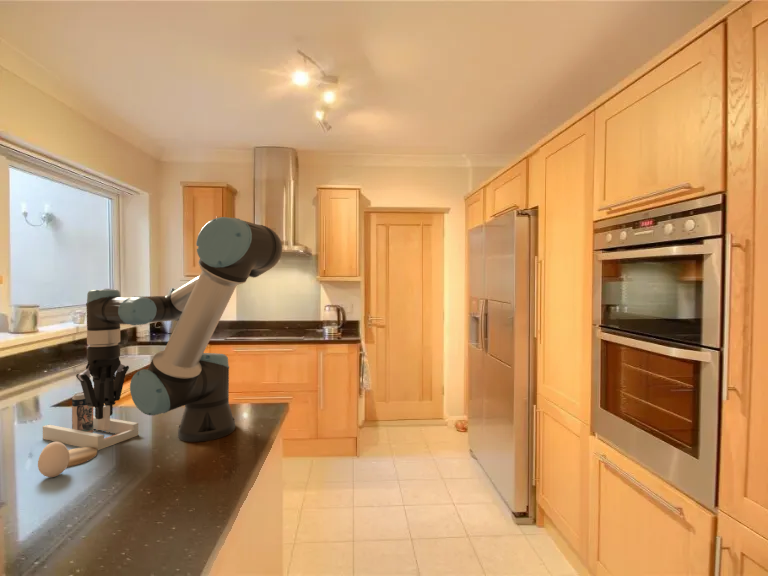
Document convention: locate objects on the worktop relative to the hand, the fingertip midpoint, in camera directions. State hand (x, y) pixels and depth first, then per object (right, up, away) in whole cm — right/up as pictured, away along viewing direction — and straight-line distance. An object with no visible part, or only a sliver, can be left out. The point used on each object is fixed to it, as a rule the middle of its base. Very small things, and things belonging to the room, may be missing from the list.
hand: (103, 428), depth 105 cm
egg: (+4, -3, -21) cm, 21 cm away
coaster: (+1, -3, -12) cm, 12 cm away
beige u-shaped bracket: (-5, -3, +2) cm, 6 cm away
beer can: (-8, -3, +3) cm, 9 cm away
